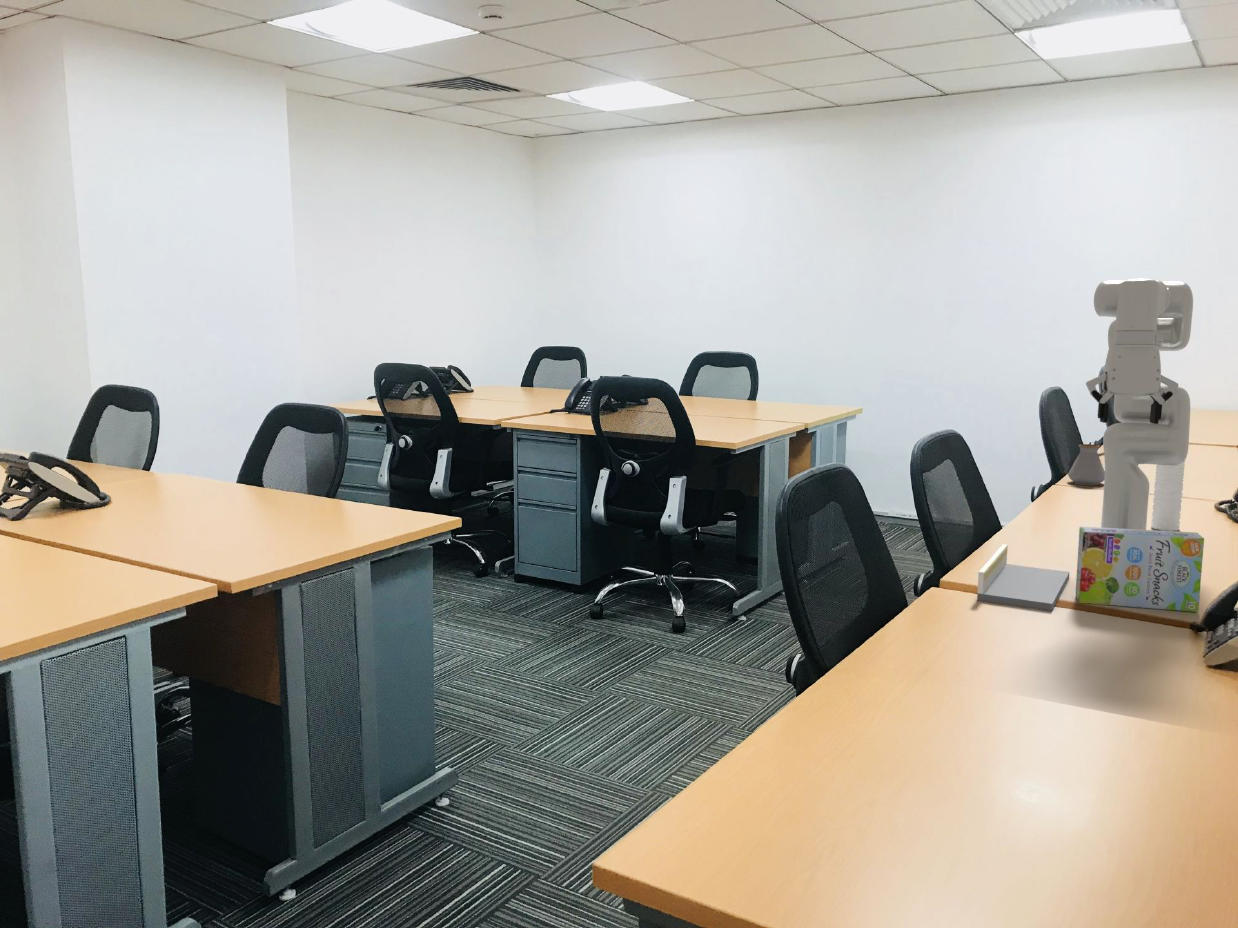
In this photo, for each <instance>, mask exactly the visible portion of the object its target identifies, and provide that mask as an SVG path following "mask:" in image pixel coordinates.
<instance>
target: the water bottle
mask: <svg viewBox="0 0 1238 928" xmlns="http://www.w3.org/2000/svg"><path fill="white" fill-rule="evenodd" d="M1185 463H1186V460H1185V461H1184V462H1183V463H1181V464H1179V465H1155V466H1156V467H1155V468H1156V469H1155V481H1154V487H1153V488H1154V490H1153V498H1152V500H1153V502H1152V503H1153V504H1152V512H1151V513H1152V514H1151V517H1152V518H1151V524H1150V525H1151V529H1153V530H1157V531H1176V532H1178V531H1179V530H1180V524H1181V522H1180V519H1181V512H1182V501H1183V500H1182V498H1183V489H1184V488H1183V487H1184V483H1183V482H1184V476H1185V466H1186V464H1185Z"/></svg>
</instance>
